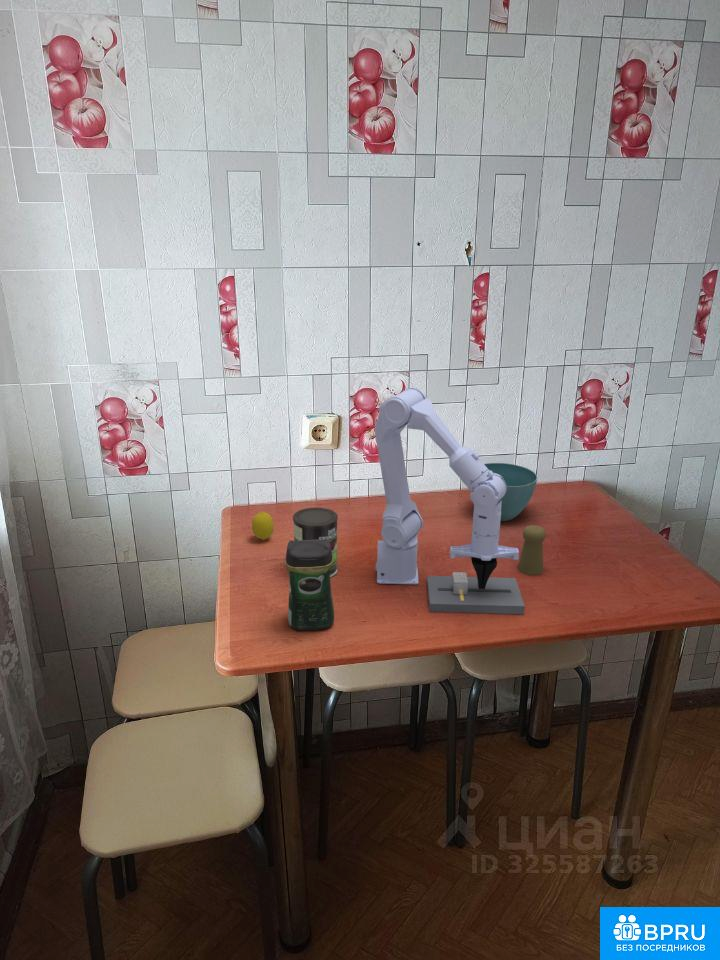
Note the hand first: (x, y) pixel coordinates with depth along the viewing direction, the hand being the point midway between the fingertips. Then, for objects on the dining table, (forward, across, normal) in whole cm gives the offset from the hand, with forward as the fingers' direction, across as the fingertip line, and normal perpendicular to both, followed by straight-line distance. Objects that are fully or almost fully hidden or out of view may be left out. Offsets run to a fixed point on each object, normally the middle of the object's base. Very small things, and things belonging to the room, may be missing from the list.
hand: (481, 586), depth 158 cm
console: (+3, -2, 0) cm, 3 cm away
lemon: (+3, -52, +26) cm, 59 cm away
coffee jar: (+3, -36, -11) cm, 38 cm away
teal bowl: (+3, +10, +45) cm, 46 cm away
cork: (+3, +14, +14) cm, 20 cm away
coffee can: (+3, -38, +11) cm, 39 cm away
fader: (+1, -5, 0) cm, 5 cm away
